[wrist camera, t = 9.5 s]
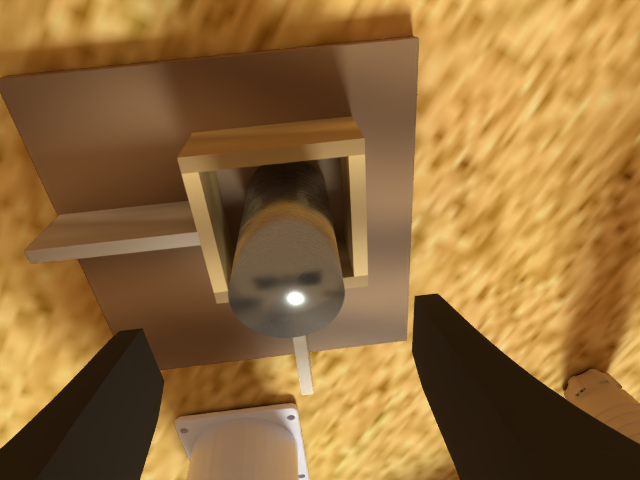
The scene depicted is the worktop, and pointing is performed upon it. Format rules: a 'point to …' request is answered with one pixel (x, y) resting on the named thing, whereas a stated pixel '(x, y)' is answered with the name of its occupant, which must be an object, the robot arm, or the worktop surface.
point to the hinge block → (224, 185)
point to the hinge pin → (286, 254)
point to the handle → (605, 402)
